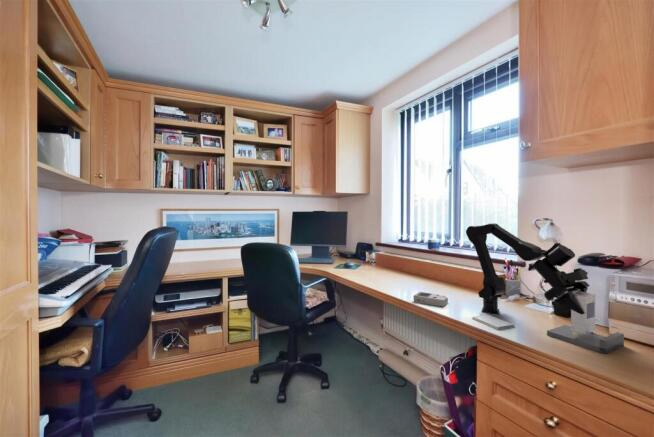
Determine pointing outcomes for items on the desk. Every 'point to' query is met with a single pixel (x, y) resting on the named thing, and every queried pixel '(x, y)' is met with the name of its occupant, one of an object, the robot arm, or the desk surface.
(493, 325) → the hard drive
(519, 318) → the desk surface
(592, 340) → the drive dock
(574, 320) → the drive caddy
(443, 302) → the handheld gaming device
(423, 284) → the desk surface
